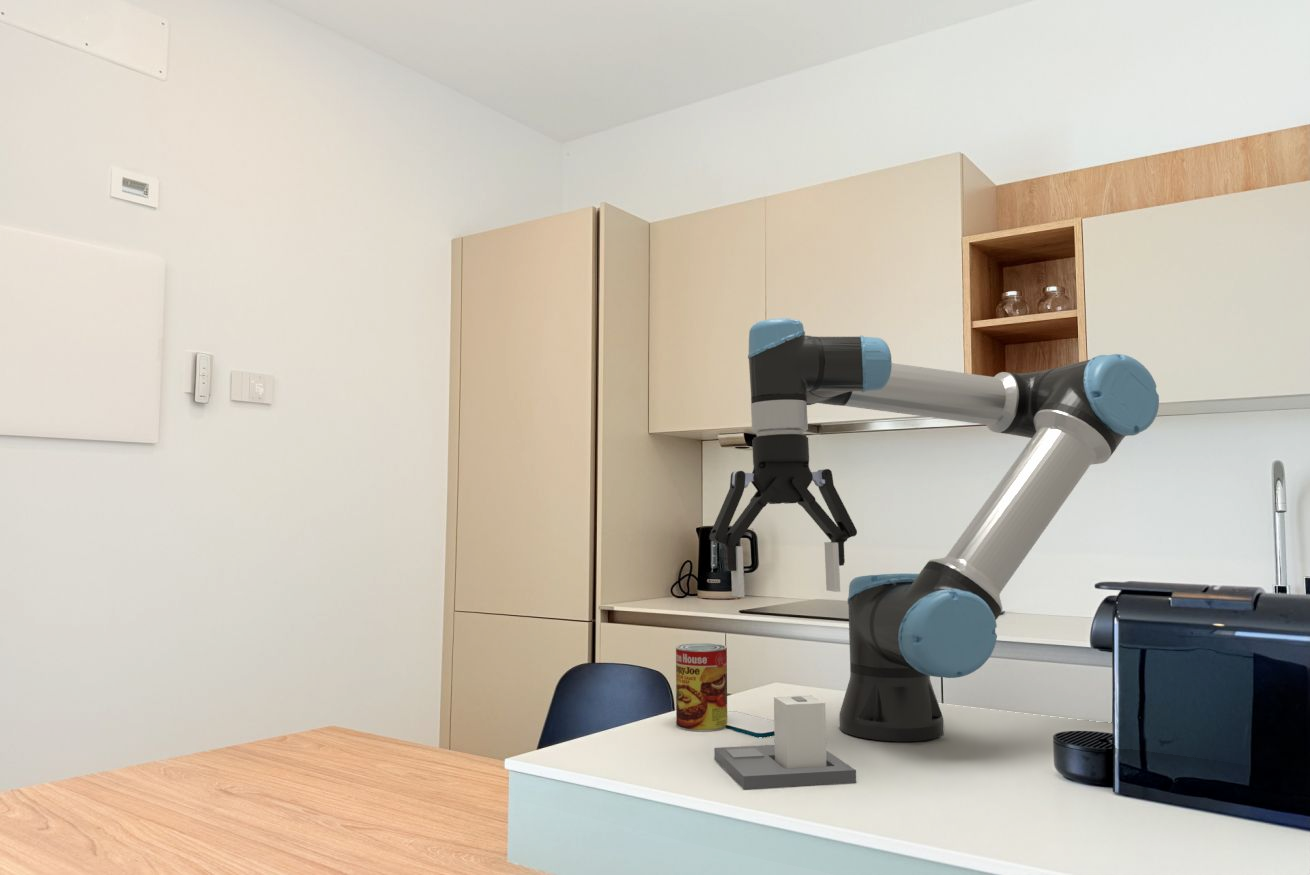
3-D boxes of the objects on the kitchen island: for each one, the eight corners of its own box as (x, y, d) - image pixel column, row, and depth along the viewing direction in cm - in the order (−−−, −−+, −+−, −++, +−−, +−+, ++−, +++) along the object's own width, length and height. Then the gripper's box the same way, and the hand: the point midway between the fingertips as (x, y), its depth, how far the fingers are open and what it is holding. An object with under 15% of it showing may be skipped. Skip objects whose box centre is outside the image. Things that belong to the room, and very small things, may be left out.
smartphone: (694, 722, 149) (759, 740, 136) (694, 716, 149) (759, 733, 136) (734, 716, 153) (800, 733, 140) (734, 710, 154) (800, 727, 140)
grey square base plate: (815, 754, 127) (814, 741, 127) (856, 782, 113) (855, 768, 113) (714, 759, 124) (714, 746, 124) (743, 789, 110) (743, 774, 110)
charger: (812, 767, 120) (811, 693, 121) (826, 777, 115) (825, 701, 116) (775, 769, 119) (773, 695, 120) (787, 779, 114) (786, 703, 115)
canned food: (666, 724, 145) (665, 645, 146) (705, 718, 150) (704, 641, 151) (698, 734, 139) (697, 651, 140) (738, 726, 143) (737, 647, 144)
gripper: (851, 436, 133) (858, 586, 132) (683, 437, 127) (688, 596, 125) (877, 431, 126) (884, 590, 125) (700, 432, 120) (705, 600, 118)
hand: (786, 593), depth 125 cm, fingers open, 13 cm apart
